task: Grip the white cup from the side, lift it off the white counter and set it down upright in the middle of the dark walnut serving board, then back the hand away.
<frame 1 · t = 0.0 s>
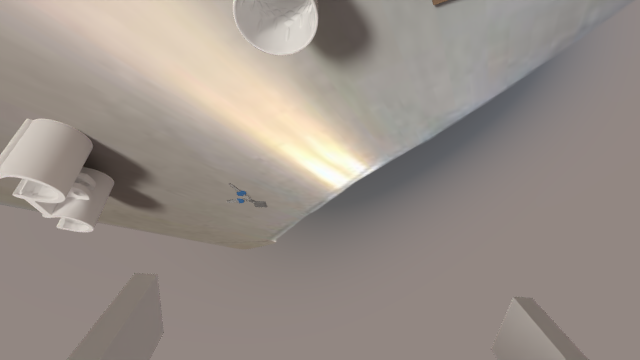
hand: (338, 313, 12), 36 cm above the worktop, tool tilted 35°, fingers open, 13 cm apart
key chain: (241, 196, 81), on the worktop
bracket: (80, 157, 68), on the worktop
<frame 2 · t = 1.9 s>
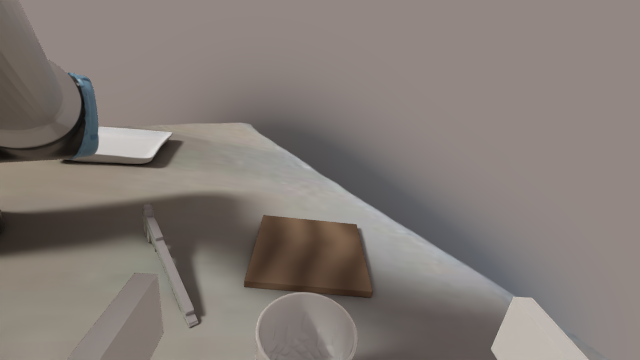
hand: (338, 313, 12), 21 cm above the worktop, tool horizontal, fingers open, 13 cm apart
salad plate: (118, 153, 77), on the worktop
walnut board: (309, 253, 49), on the worktop
caliper: (167, 275, 42), on the worktop
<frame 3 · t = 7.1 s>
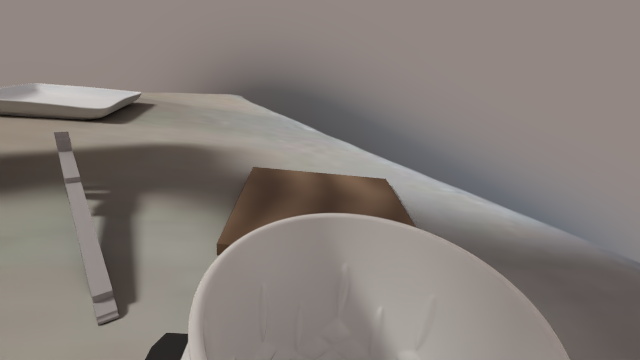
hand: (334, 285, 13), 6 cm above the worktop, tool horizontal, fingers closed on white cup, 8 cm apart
salad plate: (68, 111, 60), on the worktop
walnut board: (322, 211, 32), on the worktop
caliper: (86, 240, 24), on the worktop
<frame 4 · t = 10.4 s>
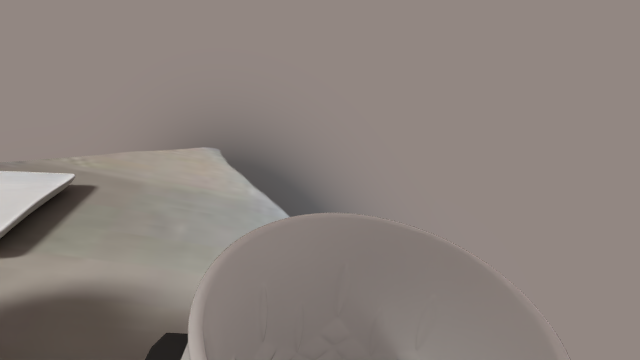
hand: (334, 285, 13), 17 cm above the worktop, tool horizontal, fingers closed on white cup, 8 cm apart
when the fingers open (8 cm above the worktop, at t = 12.7 s): white cup drops 1 cm, resting on walnut board.
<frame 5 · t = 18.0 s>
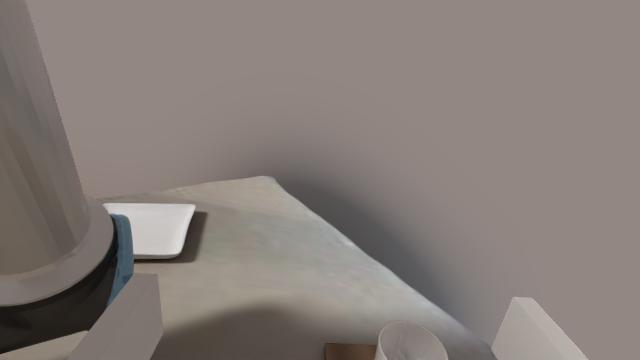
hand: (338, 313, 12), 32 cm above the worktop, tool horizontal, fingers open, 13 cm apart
salad plate: (138, 239, 68), on the worktop
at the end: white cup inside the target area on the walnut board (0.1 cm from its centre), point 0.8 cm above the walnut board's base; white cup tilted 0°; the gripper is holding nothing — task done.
